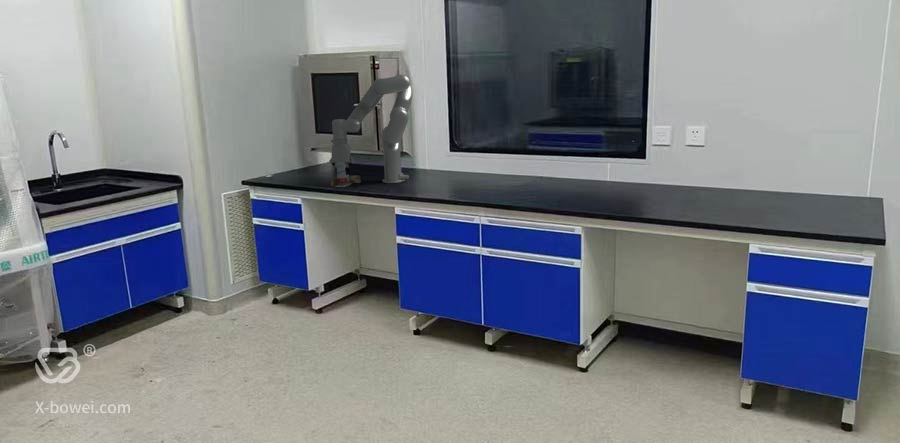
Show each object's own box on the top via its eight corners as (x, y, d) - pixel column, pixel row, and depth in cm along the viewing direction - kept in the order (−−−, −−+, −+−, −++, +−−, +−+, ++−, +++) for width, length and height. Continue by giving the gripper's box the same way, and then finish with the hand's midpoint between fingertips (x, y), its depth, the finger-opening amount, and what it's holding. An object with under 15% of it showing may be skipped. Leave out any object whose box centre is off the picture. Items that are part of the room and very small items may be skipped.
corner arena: (360, 182, 380) (360, 175, 379) (353, 186, 368) (353, 179, 367) (338, 182, 382) (338, 175, 381) (330, 186, 370) (330, 179, 370)
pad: (351, 183, 378) (351, 183, 378) (345, 186, 369) (345, 186, 368) (341, 183, 379) (341, 183, 379) (334, 186, 370) (334, 186, 370)
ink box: (346, 183, 369) (344, 162, 366) (337, 183, 370) (335, 162, 367) (349, 180, 377) (348, 159, 375) (341, 180, 378) (339, 160, 375)
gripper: (323, 143, 366) (326, 175, 371) (353, 142, 363) (355, 175, 367) (328, 141, 373) (330, 173, 378) (357, 140, 370) (359, 173, 374)
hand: (343, 174), depth 372 cm, fingers closed on ink box, 5 cm apart
